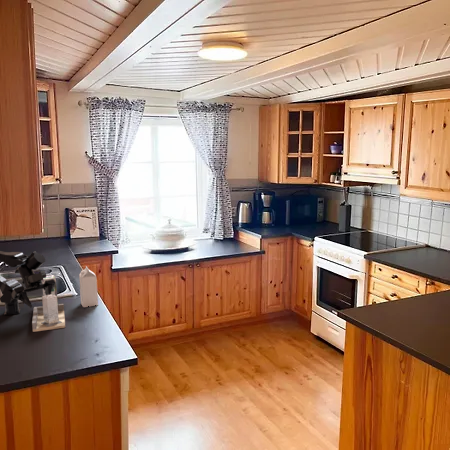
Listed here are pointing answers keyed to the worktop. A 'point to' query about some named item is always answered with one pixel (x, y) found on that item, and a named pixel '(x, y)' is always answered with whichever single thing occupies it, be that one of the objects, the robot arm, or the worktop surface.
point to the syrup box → (54, 290)
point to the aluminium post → (50, 309)
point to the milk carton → (88, 288)
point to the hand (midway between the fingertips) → (41, 304)
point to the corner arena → (39, 319)
